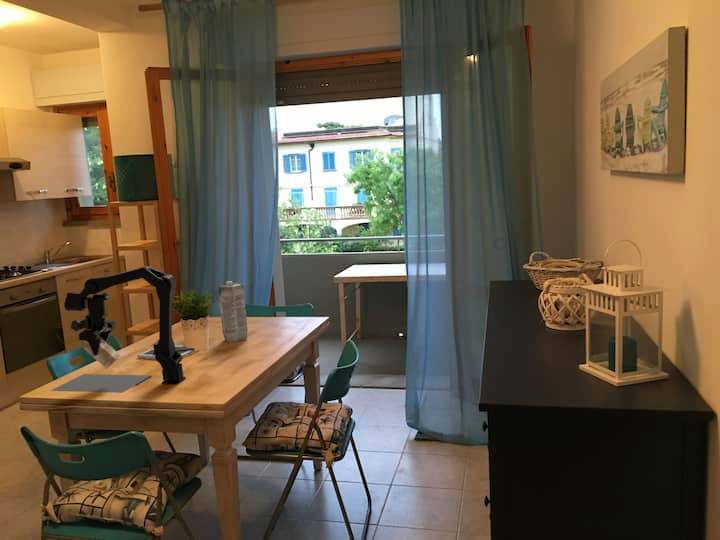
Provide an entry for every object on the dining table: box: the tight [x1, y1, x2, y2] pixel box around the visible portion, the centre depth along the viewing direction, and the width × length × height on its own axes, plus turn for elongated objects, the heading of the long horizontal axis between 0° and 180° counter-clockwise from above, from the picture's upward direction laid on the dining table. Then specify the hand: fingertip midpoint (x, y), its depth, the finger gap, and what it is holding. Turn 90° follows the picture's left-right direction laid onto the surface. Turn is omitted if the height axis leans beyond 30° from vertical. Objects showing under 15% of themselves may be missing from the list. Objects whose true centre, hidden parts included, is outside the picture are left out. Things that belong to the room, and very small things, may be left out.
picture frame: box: [136, 345, 196, 360], centre depth 257 cm, size 16×3×21 cm
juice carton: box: [217, 280, 248, 343], centre depth 272 cm, size 9×10×27 cm
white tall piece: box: [79, 339, 122, 369], centre depth 219 cm, size 5×5×13 cm
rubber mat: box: [50, 373, 153, 394], centre depth 223 cm, size 30×18×1 cm, turn 76°
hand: (98, 352), depth 219 cm, fingers closed on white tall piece, 5 cm apart
